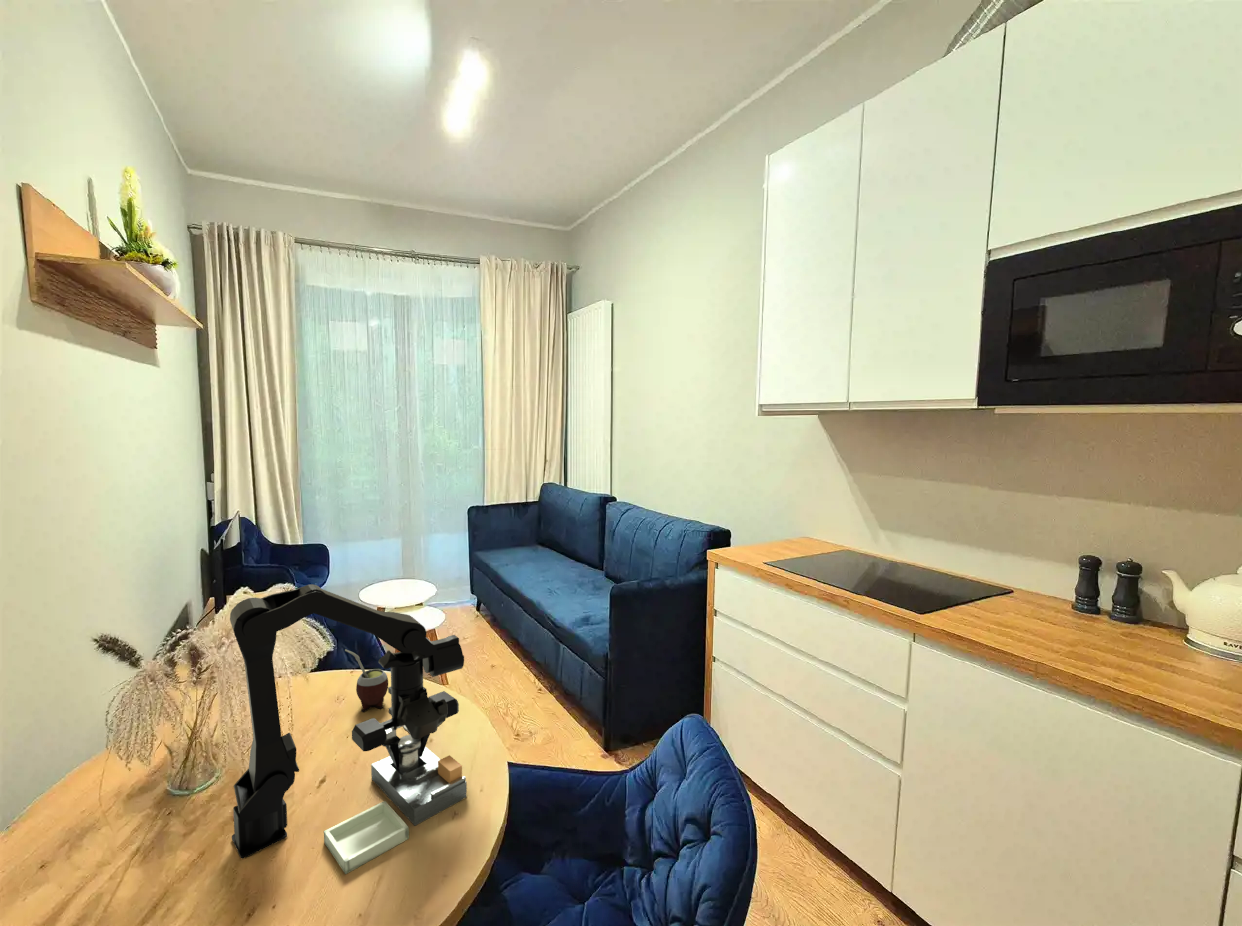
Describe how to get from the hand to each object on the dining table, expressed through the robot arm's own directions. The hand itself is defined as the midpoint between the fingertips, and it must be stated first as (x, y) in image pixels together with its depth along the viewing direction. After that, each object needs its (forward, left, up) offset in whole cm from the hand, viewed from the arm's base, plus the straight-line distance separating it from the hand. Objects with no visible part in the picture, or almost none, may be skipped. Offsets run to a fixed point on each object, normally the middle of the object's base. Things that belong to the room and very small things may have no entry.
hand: (408, 761), depth 106 cm
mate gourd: (+6, +32, -4) cm, 33 cm away
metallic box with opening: (0, -4, -4) cm, 5 cm away
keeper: (+4, -9, 0) cm, 10 cm away
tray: (-12, -10, -4) cm, 16 cm away
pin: (0, 0, -4) cm, 4 cm away
